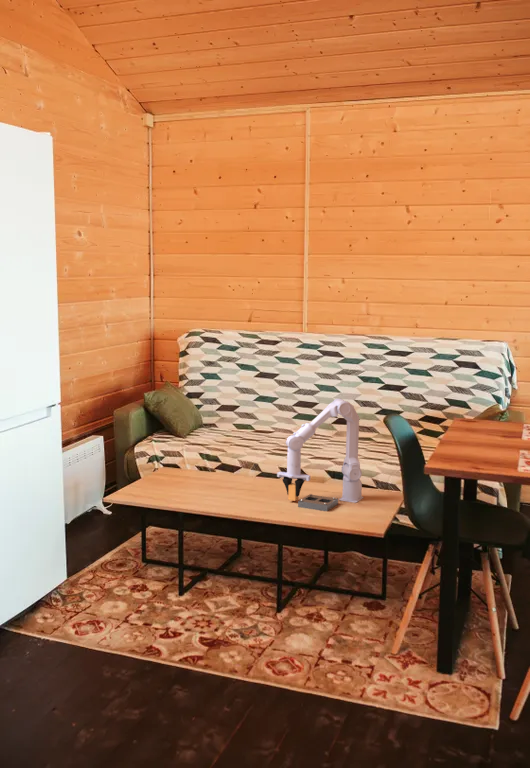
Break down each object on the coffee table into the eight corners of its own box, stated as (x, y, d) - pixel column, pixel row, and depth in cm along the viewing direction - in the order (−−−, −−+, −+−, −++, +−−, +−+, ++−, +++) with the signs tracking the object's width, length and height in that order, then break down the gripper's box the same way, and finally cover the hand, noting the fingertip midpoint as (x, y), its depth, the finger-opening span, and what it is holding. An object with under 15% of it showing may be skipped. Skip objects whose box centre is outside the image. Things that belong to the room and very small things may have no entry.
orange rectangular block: (291, 498, 330) (291, 483, 330) (298, 499, 329) (298, 484, 328) (288, 499, 328) (288, 484, 327) (295, 500, 326) (295, 485, 325)
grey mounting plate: (309, 500, 331) (309, 493, 331) (337, 504, 326) (338, 497, 325) (298, 506, 321) (298, 499, 320) (327, 511, 315) (327, 504, 315)
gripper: (274, 463, 326) (273, 495, 328) (305, 467, 320) (305, 499, 321) (281, 460, 332) (281, 491, 334) (312, 464, 326) (312, 495, 328)
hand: (293, 495), depth 328 cm, fingers closed on orange rectangular block, 3 cm apart
